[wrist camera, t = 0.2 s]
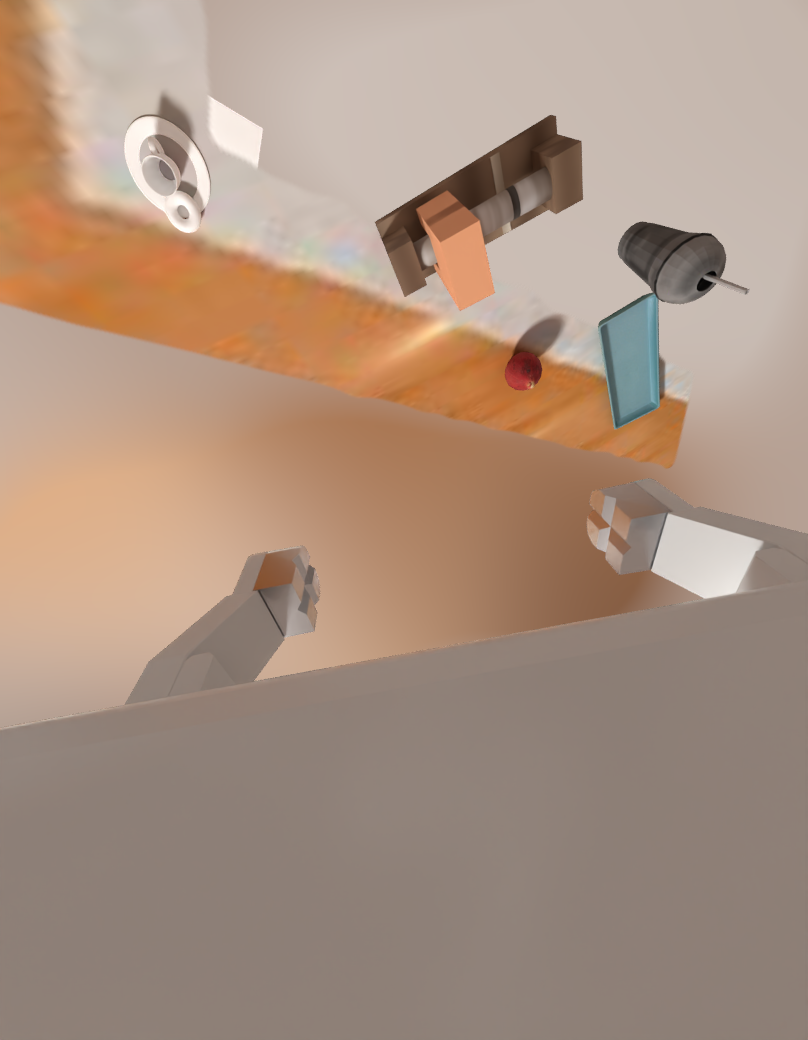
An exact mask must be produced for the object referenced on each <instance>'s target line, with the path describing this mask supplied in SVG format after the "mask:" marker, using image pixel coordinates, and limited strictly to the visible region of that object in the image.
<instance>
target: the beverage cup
mask: <svg viewBox="0 0 808 1040" xmlns="http://www.w3.org/2000/svg"><path fill="white" fill-rule="evenodd" d="M618 255H619V257H620V258H621V259H622V260H623V261H624V263H625V264H626V265H627V266H628V267H629V268H631V269H632V270H633V271H634V272H635V273H636V274H637V275H638V276H639V277H640V278H642V280H644V281H645V282H646V283H647V284H648V285H649V286H650V288H651V290H652V291H653V293H654V294H655V295H656V298H658V299H659V300H661V301H663V302H667V303H672V304H684V303H688V302H691V301H694V300H696V299H698V298H700V297H702V296H703V295H705V294H706V293H707V292H708V291H710V290H711V289H712V288H713V287H714V285H716V284H719V285H722V286H724V287H727V288H729V289H732V290H734V291H737V292H740V293H742V294H747V293H748V292H749V289H747V288H744V287H741V286H739V285H736V284H733V283H731V282H728V281H725V280H723V279H720V277H721V275H722V273H723V271H724V268H725V263H726V254H725V251H724V247H723V245H722V244H721V243H720V242H719V241H718V240H717V239H716V238H715V237H714V236H713V235H712V234H709V233H688V232H684V231H681V230H677V229H673V228H669V227H665V226H661V225H657V224H653V223H647V222H639V223H636V224H634V225H633V226H631V227H630V228H629V229H628V230H627V231H626V232H625V234H624V235H623V236H622V238H621V240H620V242H619V246H618Z"/></svg>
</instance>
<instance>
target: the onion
mask: <svg viewBox="0 0 808 1040" xmlns="http://www.w3.org/2000/svg"><path fill="white" fill-rule="evenodd" d="M541 373H542V367H541V363H540V360H539V359H538V358H537V357H536V356H535V355H534V354H533V353H529V352H521V353H517V354H516V355H515V356H513V357H512V358H511V359H510V361H509V362H508V364H507V367H506V369H505V378H506V381H507V383H508V385H509V386H510V387H512V388H514V389H515V390H528V389H532V388H533V387H534V386H535V385H536V384H537V383H538V381H539V379H540V377H541Z"/></svg>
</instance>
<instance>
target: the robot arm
mask: <svg viewBox="0 0 808 1040" xmlns="http://www.w3.org/2000/svg"><path fill="white" fill-rule="evenodd" d="M589 504H590V505H591V506H592V507H593V509H594V510H593V511H592V512H591V513H590V514H589V516H588V517H587V531H588V536H589V538H590V540H591V542H592V543H593V545H594V546H595V547H596V548H597V549H600V550H602V551H604V552H606V557H605V559H606V560H607V561H608V562H609V564H610V565H611V566H612V567H613V568H614V569H615V571H616V572H617V573H618V574H627V573H633V572H639V571H645V570H651V571H652V572H654V573H656V574H658V575H660V576H662V577H664V578H666V579H668V580H670V581H672V582H674V583H675V584H677V585H679V586H681V587H683V588H685V589H687V590H689V591H691V592H693V593H695V594H697V595H699V596H701V597H703V598H704V599H701V600H696V601H691V602H685V603H679V604H674V605H669V606H663V607H658V608H652V609H647V610H641V611H636V612H630V613H625V614H620V615H614V616H608V617H603V618H597V619H591V620H586V621H580V622H575V623H569V624H564V625H558V626H553V627H547V628H542V629H537V630H531V631H526V632H520V633H515V634H509V635H504V636H499V637H493V638H487V639H483V640H477V641H471V642H466V643H460V644H455V645H449V646H444V647H439V648H433V649H428V650H422V651H417V652H412V653H406V654H401V655H395V656H389V657H384V658H379V659H374V660H368V661H363V662H357V663H352V664H346V665H340V666H335V667H329V668H324V669H319V670H313V671H308V672H303V673H297V674H291V675H286V676H280V677H275V678H270V679H264V680H259V681H254V680H255V679H256V677H257V676H258V675H259V673H260V672H261V670H262V669H263V668H264V666H265V665H266V664H267V662H268V661H269V659H270V658H271V657H272V656H273V654H274V653H275V652H276V650H277V649H278V647H279V646H280V645H281V643H282V642H283V641H284V638H285V637H289V636H294V635H299V634H303V633H308V632H313V631H314V630H315V624H316V618H317V610H316V608H315V606H314V605H315V604H316V603H317V602H318V601H319V597H320V596H319V595H320V586H319V580H318V576H317V573H316V570H315V568H313V567H312V566H310V565H308V564H309V559H310V556H309V554H308V551H307V549H306V548H305V547H304V546H297V547H291V548H286V549H280V550H274V551H269V552H263V553H257V554H252V555H250V556H249V557H248V559H247V561H246V563H245V566H244V568H243V570H242V573H241V575H240V577H239V580H238V582H237V585H236V587H235V589H234V592H233V594H232V595H230V596H226V597H225V598H224V599H223V600H222V601H220V602H219V603H218V604H217V605H216V606H215V607H213V608H212V609H211V610H210V611H208V612H207V613H206V614H205V615H204V616H203V617H201V618H200V619H199V620H198V621H197V622H196V623H194V624H193V625H192V626H191V627H190V628H188V629H187V630H186V631H185V632H184V633H183V634H181V635H180V636H179V637H178V638H177V639H175V640H174V641H173V642H172V643H171V644H169V645H168V646H167V647H166V648H165V649H163V650H162V651H161V652H160V653H159V654H158V655H157V656H155V657H154V658H153V659H152V660H150V661H149V662H148V664H147V666H146V668H145V670H144V671H143V673H142V675H141V676H140V678H139V680H138V682H137V684H136V686H135V687H134V689H133V691H132V692H131V694H130V696H129V698H128V700H127V701H126V703H125V705H122V706H116V707H111V708H105V709H100V710H94V711H89V712H83V713H78V714H72V715H67V716H61V717H56V718H51V719H45V720H39V721H34V722H29V723H23V724H17V725H12V726H7V727H1V728H0V1040H808V534H806V533H802V532H798V531H794V530H790V529H786V528H782V527H778V526H774V525H770V524H766V523H762V522H759V521H755V520H750V519H747V518H743V517H739V516H735V515H731V514H727V513H723V512H719V511H715V510H711V509H707V508H703V507H697V508H694V507H693V506H691V505H690V504H688V503H687V502H685V501H684V500H683V499H681V498H680V497H678V496H677V495H676V494H674V493H673V492H671V491H670V490H668V489H667V488H666V487H664V486H663V485H661V484H660V483H658V482H657V481H656V480H653V479H644V480H639V481H635V482H630V483H628V484H623V485H618V486H613V487H608V488H604V489H599V490H594V491H593V492H592V494H591V496H590V503H589Z"/></svg>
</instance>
